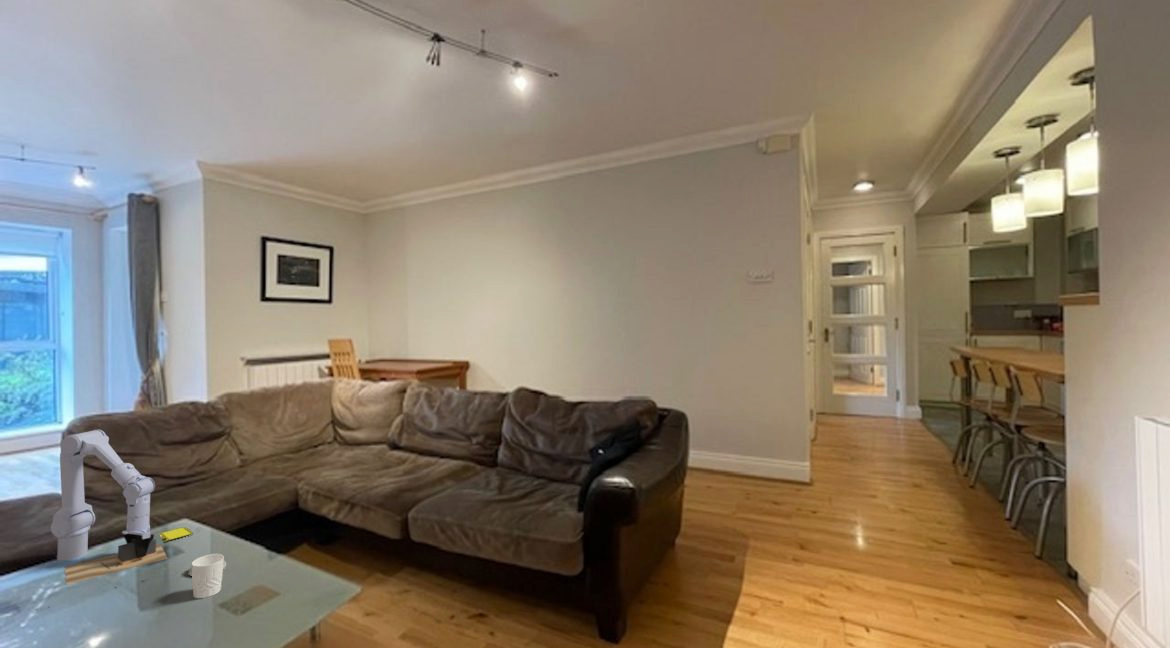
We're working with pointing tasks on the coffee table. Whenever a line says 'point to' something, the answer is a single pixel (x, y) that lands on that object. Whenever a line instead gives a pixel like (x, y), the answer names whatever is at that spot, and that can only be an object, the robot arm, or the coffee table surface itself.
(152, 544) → the block
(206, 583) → the white cup
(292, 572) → the coffee table surface
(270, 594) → the coffee table surface
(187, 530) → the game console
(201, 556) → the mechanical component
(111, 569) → the oak board
